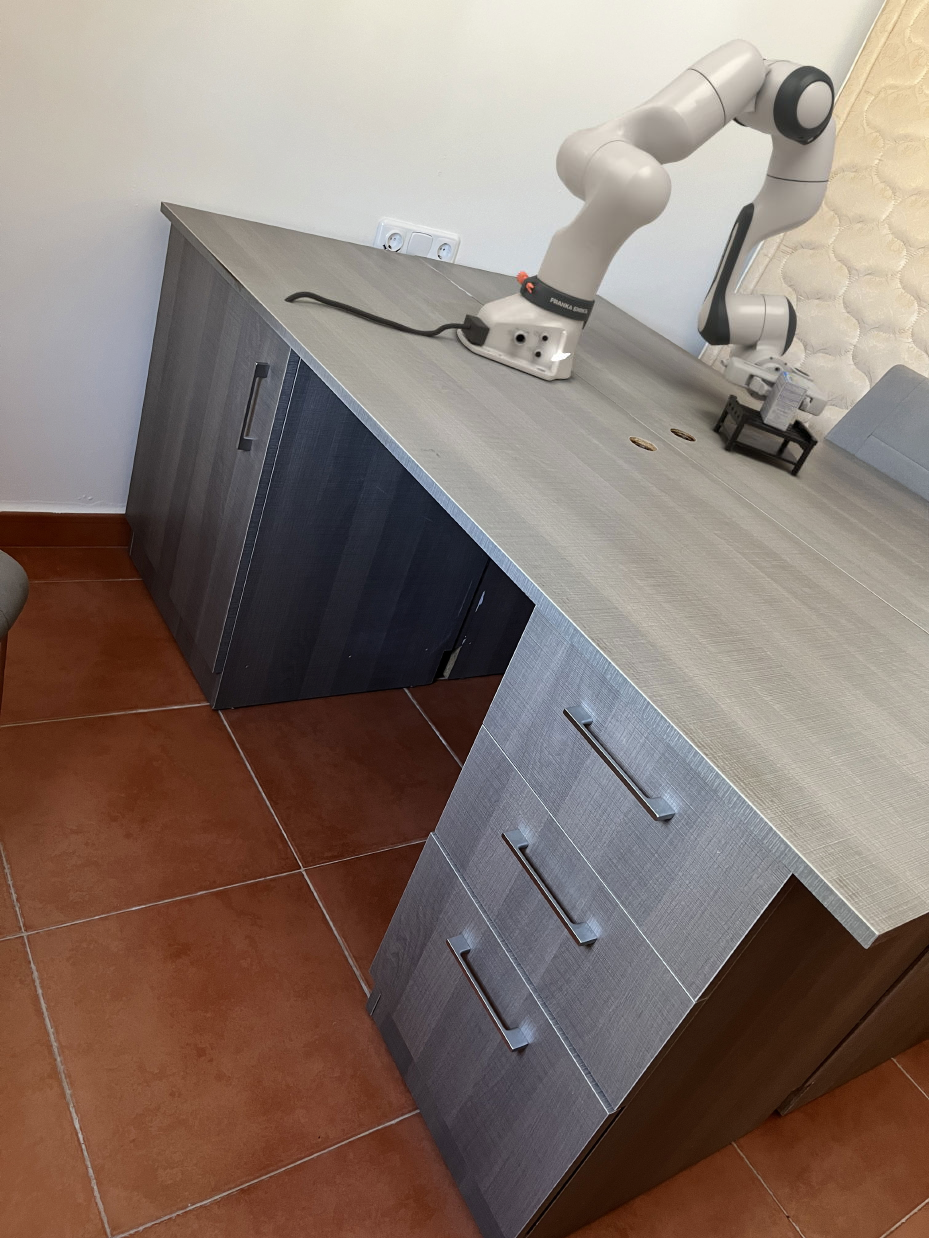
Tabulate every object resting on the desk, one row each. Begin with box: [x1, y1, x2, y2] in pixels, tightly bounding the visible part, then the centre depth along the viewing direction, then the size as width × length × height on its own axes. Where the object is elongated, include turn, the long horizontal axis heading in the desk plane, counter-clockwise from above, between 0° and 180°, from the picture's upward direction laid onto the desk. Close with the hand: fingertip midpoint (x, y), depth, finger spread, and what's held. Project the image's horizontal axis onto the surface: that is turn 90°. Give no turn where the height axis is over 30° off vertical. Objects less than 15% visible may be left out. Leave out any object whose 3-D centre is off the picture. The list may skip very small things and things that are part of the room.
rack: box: [712, 394, 819, 477], centre depth 175 cm, size 15×11×7 cm
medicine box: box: [759, 371, 808, 432], centre depth 171 cm, size 8×4×9 cm, turn 169°
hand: (785, 399), depth 170 cm, fingers open, 7 cm apart
